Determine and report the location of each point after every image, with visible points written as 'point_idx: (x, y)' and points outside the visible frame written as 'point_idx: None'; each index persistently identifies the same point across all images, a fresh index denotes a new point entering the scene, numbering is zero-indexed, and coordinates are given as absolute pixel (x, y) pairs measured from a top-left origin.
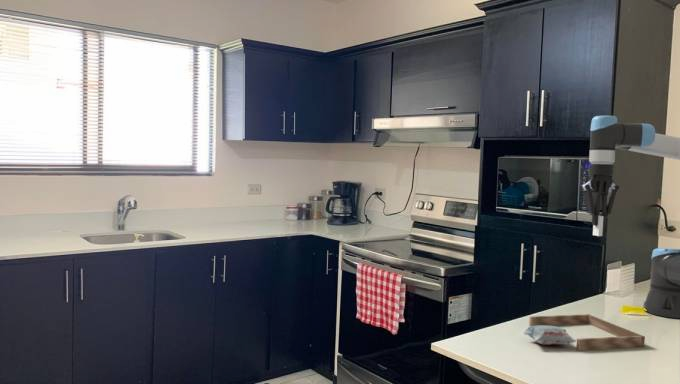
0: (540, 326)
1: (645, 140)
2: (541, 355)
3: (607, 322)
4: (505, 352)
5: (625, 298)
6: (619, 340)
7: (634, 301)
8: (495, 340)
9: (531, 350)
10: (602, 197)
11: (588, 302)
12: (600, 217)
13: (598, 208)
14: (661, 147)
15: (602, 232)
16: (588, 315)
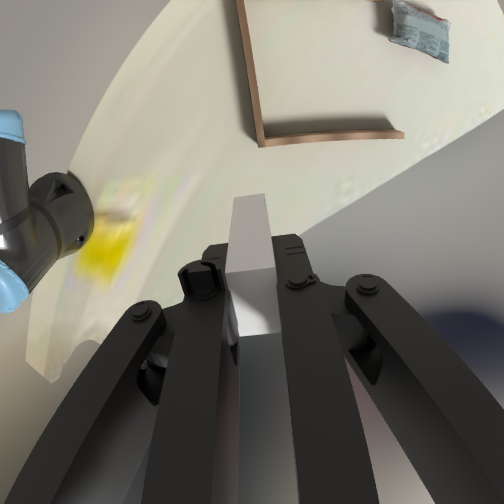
0: (443, 38)
1: None
2: (441, 2)
3: (252, 80)
4: (478, 31)
5: (93, 318)
6: None
7: (84, 301)
8: (475, 77)
9: None
10: (220, 498)
11: (168, 297)
12: (261, 260)
13: (304, 329)
14: None
15: (233, 206)
16: (264, 137)
